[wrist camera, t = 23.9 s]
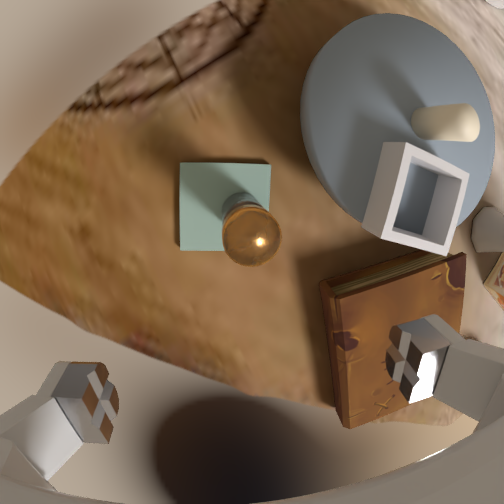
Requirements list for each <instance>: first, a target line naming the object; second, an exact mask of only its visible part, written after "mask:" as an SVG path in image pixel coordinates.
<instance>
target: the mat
mask: <svg viewBox="0 0 504 504" xmlns="http://www.w3.org/2000/svg"><path fill="white" fill-rule="evenodd" d="M270 177H271V165H270V164H248V163H200V162H185V163H180V250H199V251H225V249H224V247H223V242H222V213H221V211H222V206H223V203H224V202H225V200H226V199H227V198H228V197H229V196H231V195H232V194H235V193H238V192H245V193H249V194H251V195H252V196H254V197H255V198H256V199H257V200H258V201H259V203H260V204H261V205H262V206H263V207H264V209H266V210H267V211H268V212H269V196H270Z"/></svg>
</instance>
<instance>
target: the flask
mask: <svg viewBox="0 0 504 504" xmlns="http://www.w3.org/2000/svg"><path fill="white" fill-rule="evenodd" d="M471 239H472V242H473V245H474V247H475V250H476V252H504V216H503V215H502V214H501V213H500V212H499V211H498V210H497V209H496V208H495V207H483V209H482V210H481V211H480V212H479V213H478V214H477V216H476V217H475V218H474V219H473V228H472V236H471Z"/></svg>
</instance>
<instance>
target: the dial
mask: <svg viewBox="0 0 504 504" xmlns="http://www.w3.org/2000/svg"><path fill="white" fill-rule="evenodd" d="M300 121H301V131H302V136H303V140H304V145H305V149H306V152H307V155H308V157H309V160H310V163H311V165H312V167H313V169H314V171H315V174H316V176H317V178H318V179H319V181H320V182H321V184H322V185H323V187H324V189H325V190H326V191H327V193H328V194H329V195H330V196H331V198H332V199H333V200H334V201H335V202H336V203H337V204H338V205H339V206H340V207H341V208H342V209H343V210H344V211H345V212H346V213H348V214H349V215H350V216H352V217H353V218H355V219H356V220H358V221H359V222H361V223H362V226H361V227H362V228H363V229H365V230H367V231H369V232H370V233H372V234H374V235H375V236H377V237H379V238H380V239H384V240H388V241H392V242H396V243H400V244H403V245H407V246H411V247H415V248H418V249H422V250H426V251H429V252H433V253H436V254H440V255H443V256H447V254H448V251H449V248H450V245H451V242H452V238H453V235H454V232H455V229H456V227H457V226H458V225H460V224H461V223H462V222H463V221H464V220H465V219H466V218H467V217H468V216H469V215H470V213H471V212H472V211H473V210H474V208H475V207H476V205H477V204H478V202H479V201H480V199H481V197H482V195H483V193H484V191H485V189H486V187H487V184H488V181H489V178H490V175H491V170H492V166H493V160H494V153H495V130H494V122H493V115H492V111H491V107H490V103H489V99H488V97H487V94H486V91H485V88H484V86H483V84H482V82H481V80H480V78H479V76H478V74H477V72H476V71H475V69H474V67H473V65H472V64H471V63H470V61H469V60H468V58H467V57H466V56H465V54H464V53H463V52H462V51H461V50H460V49H459V48H458V47H457V46H456V44H454V43H453V42H452V41H451V40H450V39H449V38H448V37H447V36H445V35H444V34H443V33H441V32H440V31H439V30H437V29H436V28H434V27H432V26H430V25H429V24H427V23H425V22H423V21H420V20H418V19H415V18H412V17H409V16H405V15H400V14H390V13H385V14H374V15H370V16H365V17H363V18H360V19H358V20H355V21H353V22H352V23H350V24H348V25H347V26H345V27H344V28H342V29H341V30H340V31H339V32H338V33H337V34H335V35H334V36H333V37H332V38H331V39H330V40H329V41H328V42H327V43H326V44H325V45H324V46H323V47H322V48H321V49H320V50H319V52H318V53H317V55H316V56H315V57H314V59H313V61H312V63H311V65H310V67H309V69H308V71H307V74H306V77H305V80H304V83H303V88H302V94H301V100H300Z"/></svg>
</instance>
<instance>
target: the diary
mask: <svg viewBox="0 0 504 504" xmlns="http://www.w3.org/2000/svg"><path fill="white" fill-rule="evenodd" d="M465 273H466V254H465V253H463V252H461V253H458V254H456V255H452V254H450V253H448V254H447V256H443V255H440V254H436V253H433V252H429V251H426V250H419V251H416V252H413V253H410V254H407V255H404V256H401V257H398V258H394V259H391V260H388V261H385V262H382V263H379V264H376V265H372V266H369V267H366V268H363V269H360V270H356V271H353V272H350V273H346V274H343V275H340V276H336V277H333V278H330V279H326V280H323V281H321V282H320V283H319V286H320V292H321V299H322V305H323V312H324V318H325V325H326V332H327V340H328V347H329V355H330V363H331V371H332V380H333V388H334V398H335V407H336V412H337V414H338V416H339V419H340V421H341V423H342V425H343V427H346V428H348V429H352V428H355V427H357V426H360V425H363V424H365V423H368V422H371V421H373V420H376V419H378V418H381V417H383V416H385V415H388V414H390V413H392V412H395V411H397V410H399V409H401V408H404V407H406V406H408V405H410V404H412V403H414V402H412V403H408V402H407V400H406V399H405V397H404V396H403V395H402V393H401V392H400V390H399V386H400V383H399V382H397V381H394V380H392V378H391V377H390V375H389V374H388V371H387V369H386V362H385V357H386V350H387V349H388V348H389V346H390V345H391V344H392V342H391V341H390V339H389V332H390V329H391V327H392V326H394V325H398V324H402V323H406V322H410V321H413V320H417V319H420V318H422V317H425V316H429V315H432V314H435V315H438V316H439V317H440V318H442V319H443V320H444V321H445V322H446V323H447V324H448V325H450V326H451V327H452V328H453V329H454V330H455V331H456V332H457V333H459V331H460V324H461V316H462V308H463V298H464V287H465ZM418 401H419V400H418ZM415 402H417V401H415Z"/></svg>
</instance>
